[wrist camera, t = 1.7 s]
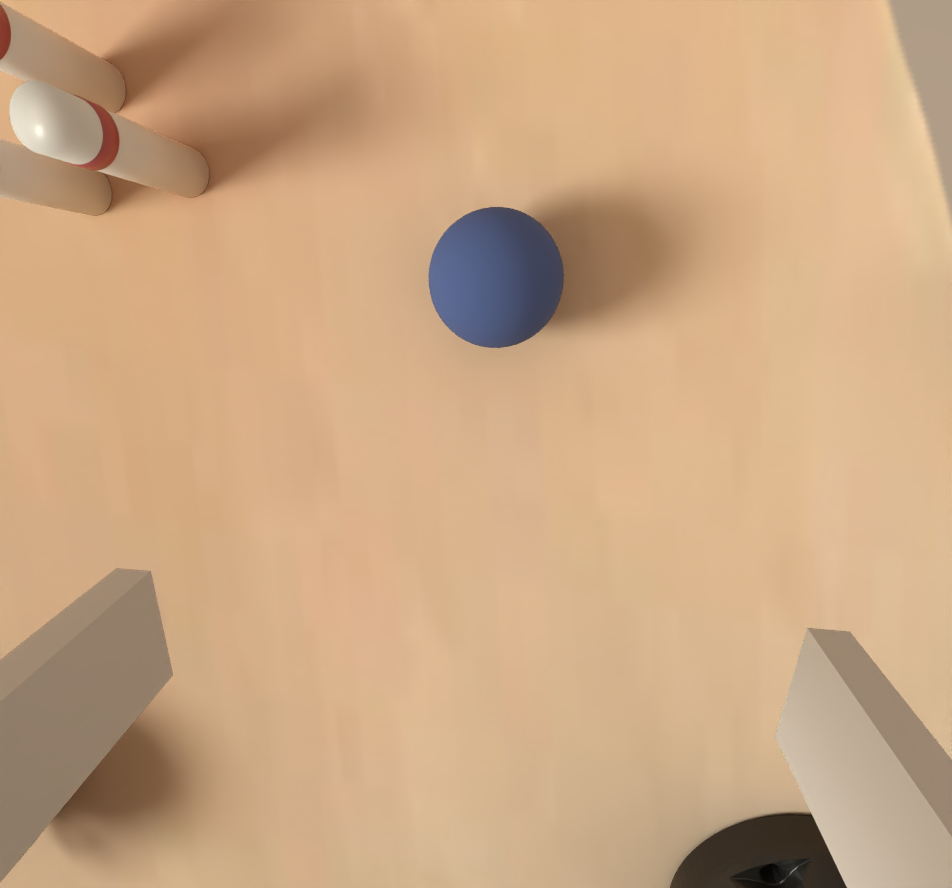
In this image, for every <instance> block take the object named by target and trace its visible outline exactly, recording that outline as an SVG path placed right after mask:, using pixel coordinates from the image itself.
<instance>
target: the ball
mask: <svg viewBox="0 0 952 888" xmlns="http://www.w3.org/2000/svg"><path fill="white" fill-rule="evenodd" d="M563 276H564V274H563V265H562V260H561V256H560V253H559V250H558V248H557V246H556V244H555V242H554V240H553V238H552V237H551V236H550V234H549V233H548V231H547V230H546V229H545V228H544V227H543V226H542V225H541V224H540V223H539V222H537V221H536V220H535V219H534V218H532V217H530V216H529V215H527V214H525V213H523V212H520V211H518V210H514V209H510V208H504V207H490V208H483V209H480V210H476V211H473V212H471V213H469V214H467V215H465V216H463V217H462V218H460V219H459V220H457V221H456V222H455V223H454V224H452V225H451V226H450V227H449V228H448V229H447V231H446V232H445V233H444V234H443V236H442V237H441V238H440V240H439V242H438V243H437V245H436V247H435V250H434V252H433V255H432V258H431V262H430V268H429V288H430V294H431V298H432V301H433V304H434V306H435V309H436V311H437V313H438V314H439V316H440V318H441V319H442V321H443V322H444V323H445V325H446V326H447V327H448V328H449V329H450V330H451V331H452V332H454V333H455V334H456V335H457V336H459V337H460V338H462V339H464V340H465V341H468V342H470V343H472V344H475V345H479V346H483V347H490V348H500V347H508V346H512V345H516V344H518V343H521V342H523V341H525V340H527V339H529V338H531V337H532V336H534V335H535V334H536V333H537V332H539V331H540V330H541V329H542V328H543V327H544V326H545V325H546V324H547V322H548V321H549V320H550V318H551V317H552V315H553V314H554V312H555V310H556V308H557V306H558V303H559V301H560V297H561V294H562V288H563Z"/></svg>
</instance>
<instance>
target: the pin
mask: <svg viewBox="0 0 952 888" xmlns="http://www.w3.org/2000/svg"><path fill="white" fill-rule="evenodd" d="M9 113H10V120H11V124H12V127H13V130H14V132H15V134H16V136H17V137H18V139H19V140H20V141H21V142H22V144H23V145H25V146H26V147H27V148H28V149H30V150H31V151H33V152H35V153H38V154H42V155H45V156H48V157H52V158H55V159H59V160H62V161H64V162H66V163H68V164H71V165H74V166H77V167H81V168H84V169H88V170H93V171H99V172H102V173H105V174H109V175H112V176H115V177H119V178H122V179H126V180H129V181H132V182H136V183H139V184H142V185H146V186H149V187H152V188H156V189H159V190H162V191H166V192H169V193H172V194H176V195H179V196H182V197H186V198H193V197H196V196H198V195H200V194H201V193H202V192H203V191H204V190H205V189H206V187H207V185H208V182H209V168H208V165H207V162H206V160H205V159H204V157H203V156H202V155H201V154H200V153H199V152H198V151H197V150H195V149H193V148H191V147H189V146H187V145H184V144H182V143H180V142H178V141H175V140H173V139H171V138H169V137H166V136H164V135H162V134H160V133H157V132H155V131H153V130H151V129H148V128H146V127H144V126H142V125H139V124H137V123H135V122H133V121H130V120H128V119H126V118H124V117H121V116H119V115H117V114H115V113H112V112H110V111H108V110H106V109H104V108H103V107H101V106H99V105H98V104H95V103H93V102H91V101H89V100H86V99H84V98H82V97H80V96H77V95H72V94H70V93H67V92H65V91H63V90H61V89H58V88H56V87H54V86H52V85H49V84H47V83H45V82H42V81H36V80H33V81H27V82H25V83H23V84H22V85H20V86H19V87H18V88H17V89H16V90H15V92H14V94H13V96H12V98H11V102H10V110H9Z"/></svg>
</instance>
